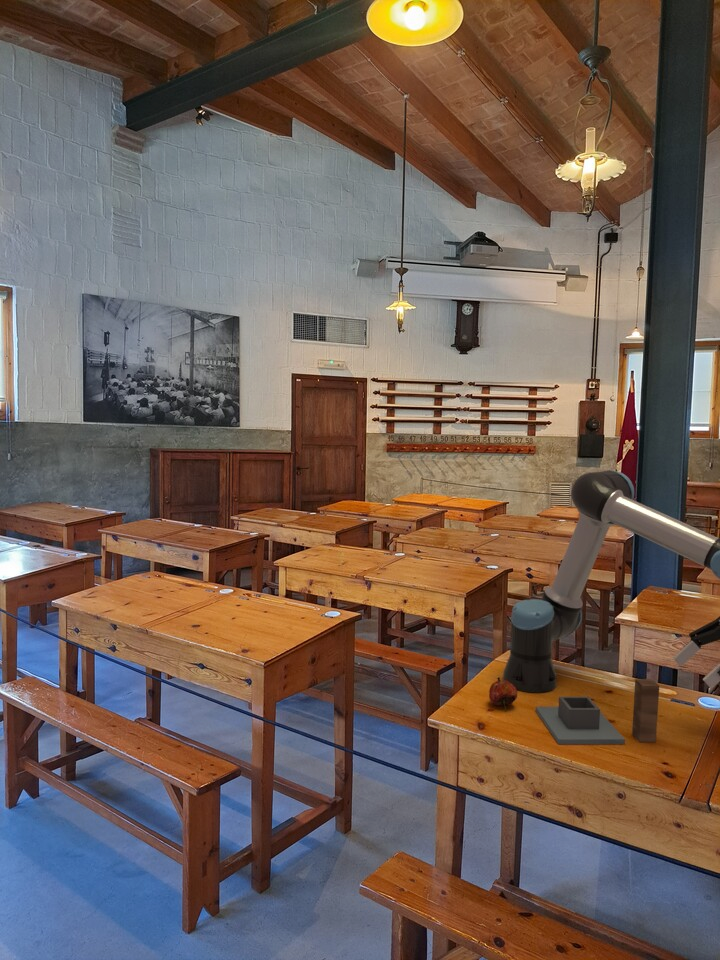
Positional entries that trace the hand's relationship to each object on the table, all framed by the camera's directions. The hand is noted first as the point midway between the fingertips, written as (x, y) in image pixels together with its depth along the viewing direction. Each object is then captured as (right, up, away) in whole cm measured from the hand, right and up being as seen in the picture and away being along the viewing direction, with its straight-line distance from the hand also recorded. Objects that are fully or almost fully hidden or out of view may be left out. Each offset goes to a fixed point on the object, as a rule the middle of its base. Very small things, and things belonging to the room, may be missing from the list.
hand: (691, 672), depth 161 cm
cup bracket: (-25, -15, +6) cm, 30 cm away
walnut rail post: (-11, -16, +1) cm, 20 cm away
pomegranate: (-42, -14, +18) cm, 47 cm away
